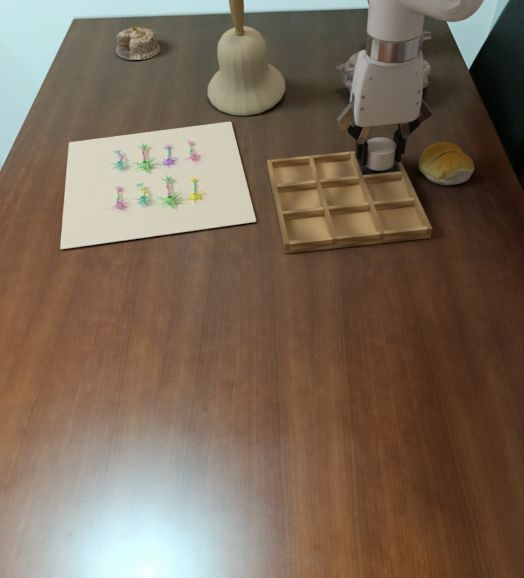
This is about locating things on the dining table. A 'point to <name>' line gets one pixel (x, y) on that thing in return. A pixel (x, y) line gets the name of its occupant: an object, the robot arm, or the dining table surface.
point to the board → (343, 203)
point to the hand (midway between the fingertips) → (379, 158)
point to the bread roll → (445, 164)
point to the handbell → (244, 70)
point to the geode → (349, 70)
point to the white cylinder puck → (380, 153)
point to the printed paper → (153, 185)
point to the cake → (137, 44)
